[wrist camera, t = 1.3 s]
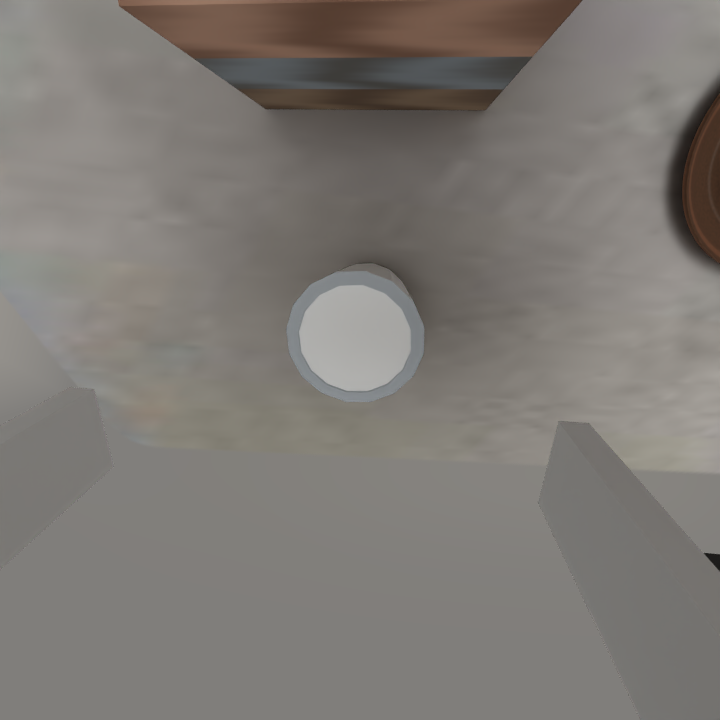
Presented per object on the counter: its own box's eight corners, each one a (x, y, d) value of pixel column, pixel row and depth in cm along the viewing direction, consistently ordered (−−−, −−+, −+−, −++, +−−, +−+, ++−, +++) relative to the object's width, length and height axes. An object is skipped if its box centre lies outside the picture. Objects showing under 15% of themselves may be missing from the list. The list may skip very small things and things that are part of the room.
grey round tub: (408, 363, 26) (410, 414, 20) (310, 345, 26) (280, 391, 20) (429, 262, 24) (440, 284, 17) (320, 244, 24) (290, 259, 17)
